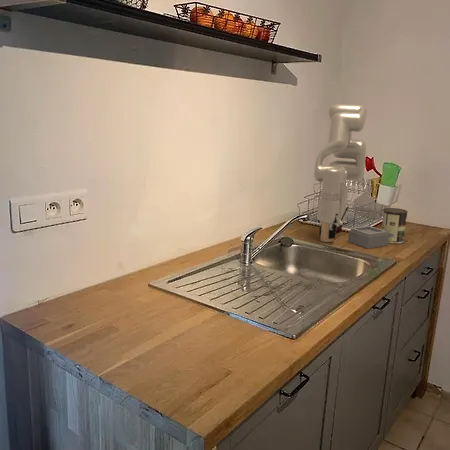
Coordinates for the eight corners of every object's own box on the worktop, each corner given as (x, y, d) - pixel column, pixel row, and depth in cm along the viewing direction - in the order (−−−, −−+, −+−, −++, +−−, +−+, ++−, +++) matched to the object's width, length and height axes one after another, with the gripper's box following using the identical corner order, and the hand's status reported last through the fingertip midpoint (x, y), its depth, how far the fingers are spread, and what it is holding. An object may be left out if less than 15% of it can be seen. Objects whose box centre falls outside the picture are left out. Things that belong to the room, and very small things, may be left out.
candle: (326, 238, 226) (328, 216, 223) (335, 241, 222) (337, 219, 219) (317, 240, 223) (319, 218, 220) (327, 243, 218) (328, 220, 216)
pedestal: (347, 241, 222) (349, 228, 220) (367, 238, 228) (369, 225, 226) (367, 248, 212) (369, 234, 210) (387, 245, 217) (389, 231, 216)
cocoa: (324, 232, 238) (325, 207, 235) (328, 228, 244) (329, 205, 240) (344, 234, 234) (345, 209, 231) (348, 231, 239) (348, 206, 236)
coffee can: (399, 237, 230) (403, 208, 227) (407, 244, 220) (411, 213, 217) (377, 237, 231) (380, 207, 227) (383, 243, 221) (387, 212, 217)
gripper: (311, 193, 223) (308, 232, 227) (337, 201, 208) (333, 242, 213) (324, 192, 226) (321, 231, 231) (350, 199, 212) (346, 240, 216)
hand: (327, 236), depth 222 cm, fingers closed on candle, 5 cm apart
